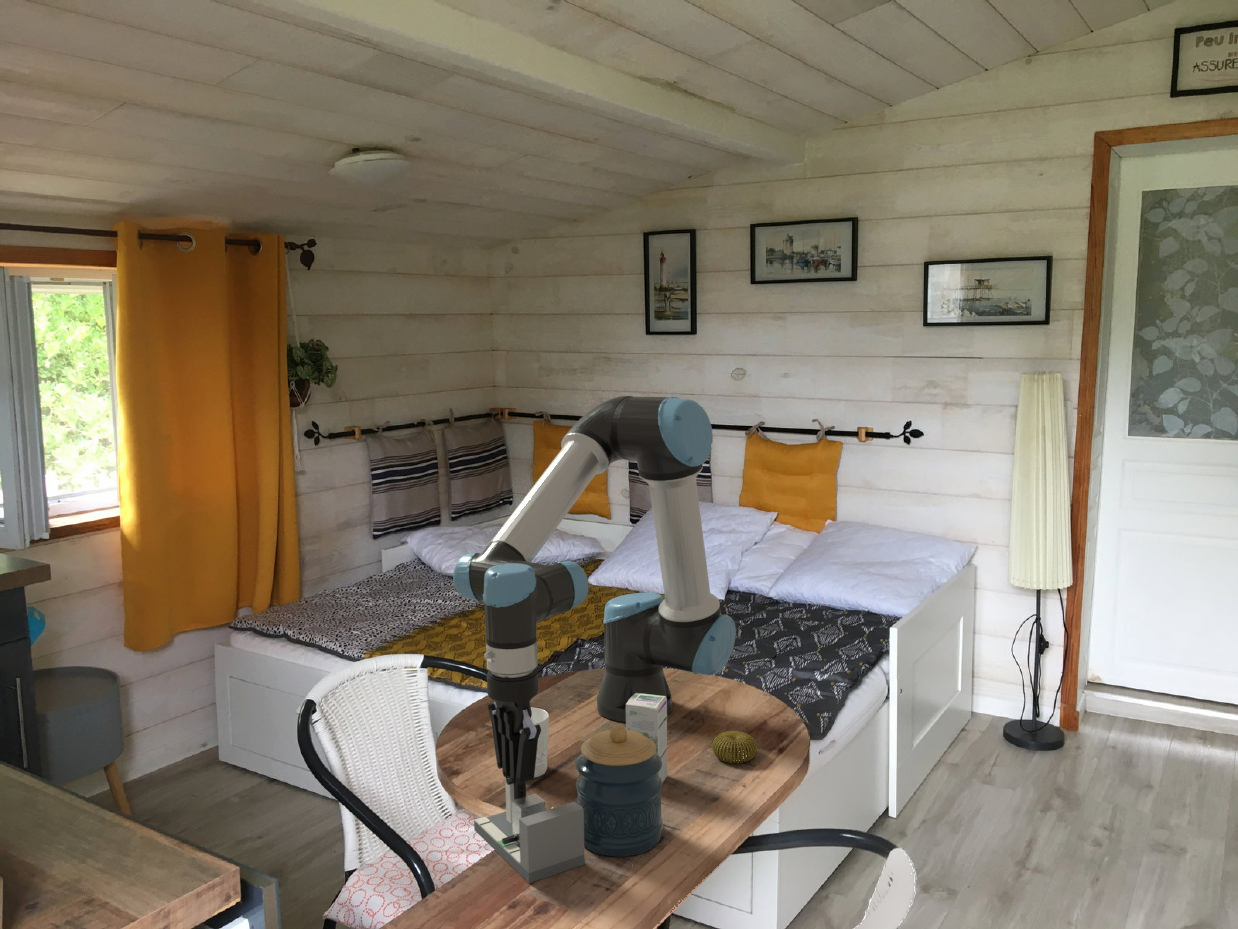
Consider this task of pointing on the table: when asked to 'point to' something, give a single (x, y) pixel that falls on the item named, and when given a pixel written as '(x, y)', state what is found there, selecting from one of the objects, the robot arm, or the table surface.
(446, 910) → the table surface
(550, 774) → the table surface
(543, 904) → the table surface
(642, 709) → the syrup box
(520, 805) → the block
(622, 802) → the canister
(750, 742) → the green sea urchin shell
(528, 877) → the gauge base
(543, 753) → the white cup
